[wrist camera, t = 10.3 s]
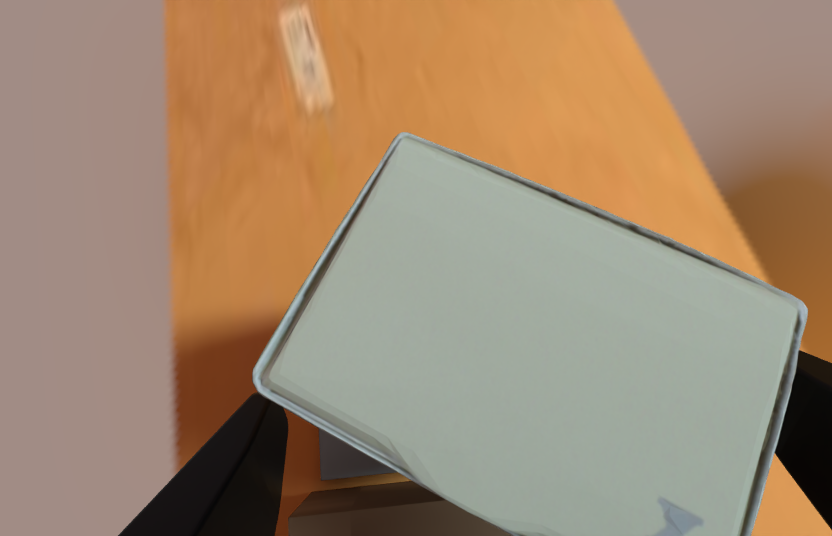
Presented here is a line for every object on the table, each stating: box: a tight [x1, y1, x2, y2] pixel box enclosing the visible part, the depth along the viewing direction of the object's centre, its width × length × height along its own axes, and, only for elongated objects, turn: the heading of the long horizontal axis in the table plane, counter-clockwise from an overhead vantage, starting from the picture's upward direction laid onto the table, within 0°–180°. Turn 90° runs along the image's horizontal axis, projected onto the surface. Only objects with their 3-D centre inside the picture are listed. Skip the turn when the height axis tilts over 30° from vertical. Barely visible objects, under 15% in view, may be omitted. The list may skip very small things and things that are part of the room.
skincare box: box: [252, 132, 808, 536], centre depth 11 cm, size 6×4×12 cm
